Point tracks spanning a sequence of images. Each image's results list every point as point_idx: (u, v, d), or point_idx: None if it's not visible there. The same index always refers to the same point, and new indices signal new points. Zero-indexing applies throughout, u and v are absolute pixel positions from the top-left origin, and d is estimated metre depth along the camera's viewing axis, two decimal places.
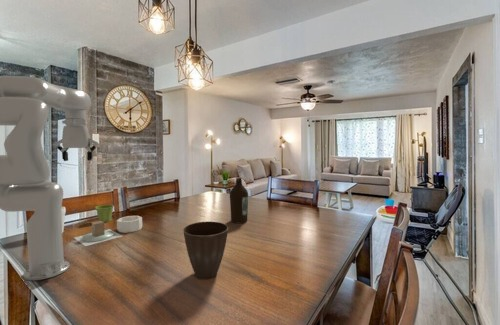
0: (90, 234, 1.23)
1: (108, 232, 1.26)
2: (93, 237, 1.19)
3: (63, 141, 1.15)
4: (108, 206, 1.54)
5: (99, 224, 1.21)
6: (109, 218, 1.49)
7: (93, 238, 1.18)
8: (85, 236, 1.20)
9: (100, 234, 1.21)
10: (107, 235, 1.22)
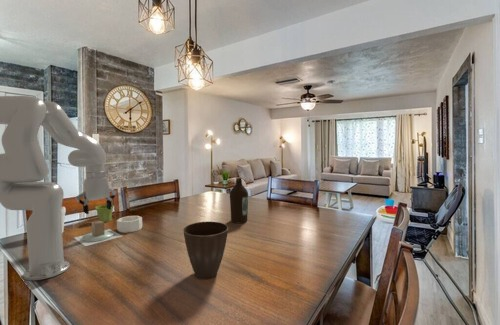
0: (90, 234, 1.23)
1: (108, 231, 1.26)
2: (93, 237, 1.19)
3: None
4: None
5: (99, 224, 1.21)
6: (109, 218, 1.49)
7: (93, 238, 1.18)
8: (85, 236, 1.20)
9: (100, 234, 1.21)
10: (107, 235, 1.22)
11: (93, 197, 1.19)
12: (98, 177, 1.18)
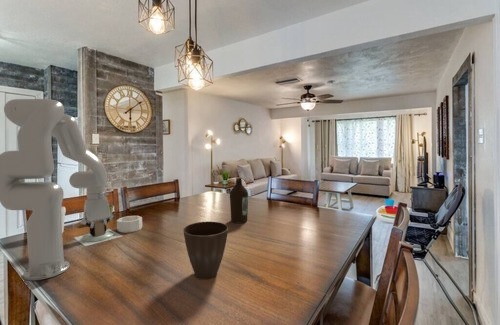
0: (90, 234, 1.23)
1: (108, 232, 1.26)
2: (93, 237, 1.19)
3: None
4: None
5: (99, 224, 1.21)
6: None
7: (93, 238, 1.18)
8: (85, 236, 1.20)
9: (100, 234, 1.21)
10: (107, 235, 1.22)
11: (93, 218, 1.19)
12: (99, 198, 1.19)
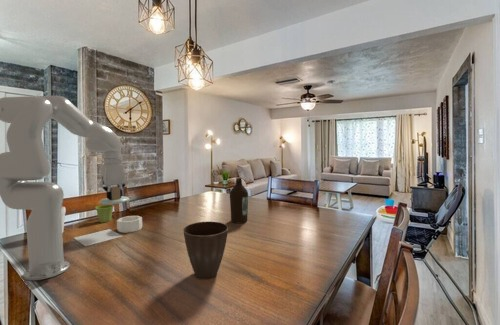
0: (106, 199, 1.28)
1: (123, 197, 1.32)
2: (110, 200, 1.24)
3: None
4: (108, 206, 1.54)
5: (115, 188, 1.26)
6: (109, 218, 1.49)
7: (110, 201, 1.23)
8: (102, 200, 1.26)
9: (116, 198, 1.27)
10: (123, 199, 1.27)
11: (110, 182, 1.24)
12: (115, 163, 1.24)
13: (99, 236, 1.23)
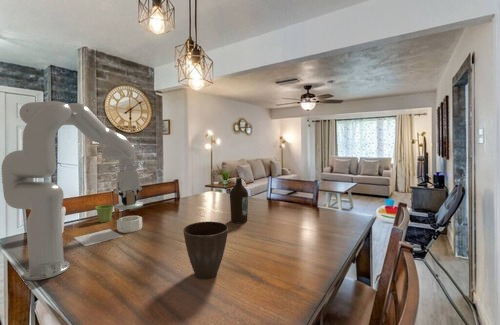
0: (121, 204, 1.34)
1: (137, 202, 1.37)
2: (125, 205, 1.30)
3: None
4: (108, 206, 1.54)
5: (130, 194, 1.32)
6: (109, 218, 1.49)
7: (125, 206, 1.29)
8: (117, 205, 1.31)
9: (131, 203, 1.32)
10: (137, 204, 1.32)
11: (126, 188, 1.30)
12: (130, 170, 1.29)
13: (99, 236, 1.23)
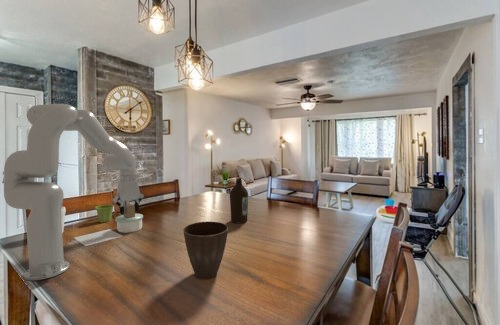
0: (122, 216, 1.34)
1: (137, 214, 1.37)
2: (125, 218, 1.30)
3: None
4: (108, 206, 1.54)
5: (130, 207, 1.32)
6: (109, 218, 1.49)
7: (126, 219, 1.29)
8: (118, 218, 1.31)
9: (131, 216, 1.32)
10: (137, 217, 1.33)
11: (126, 198, 1.30)
12: (131, 180, 1.30)
13: (99, 236, 1.23)
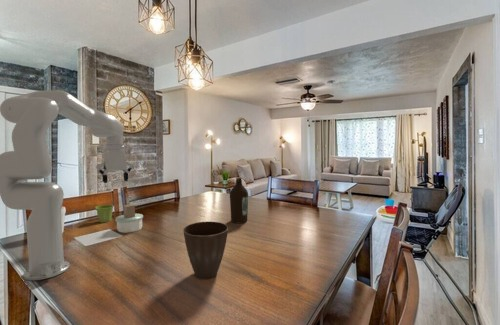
0: (122, 216, 1.34)
1: (137, 214, 1.37)
2: (125, 218, 1.30)
3: None
4: (108, 206, 1.54)
5: (130, 207, 1.32)
6: (109, 218, 1.49)
7: (126, 219, 1.29)
8: (118, 218, 1.31)
9: (131, 216, 1.32)
10: (137, 217, 1.33)
11: (112, 167, 1.27)
12: (117, 149, 1.27)
13: (99, 236, 1.23)
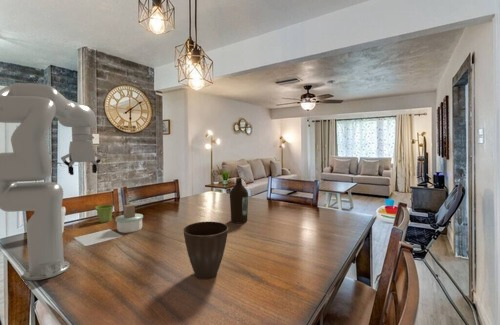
0: (122, 216, 1.34)
1: (137, 214, 1.37)
2: (125, 218, 1.30)
3: None
4: (108, 206, 1.54)
5: (130, 207, 1.32)
6: (109, 218, 1.49)
7: (126, 219, 1.29)
8: (118, 218, 1.31)
9: (131, 216, 1.32)
10: (137, 217, 1.33)
11: (78, 158, 1.22)
12: (83, 139, 1.22)
13: (99, 236, 1.23)
